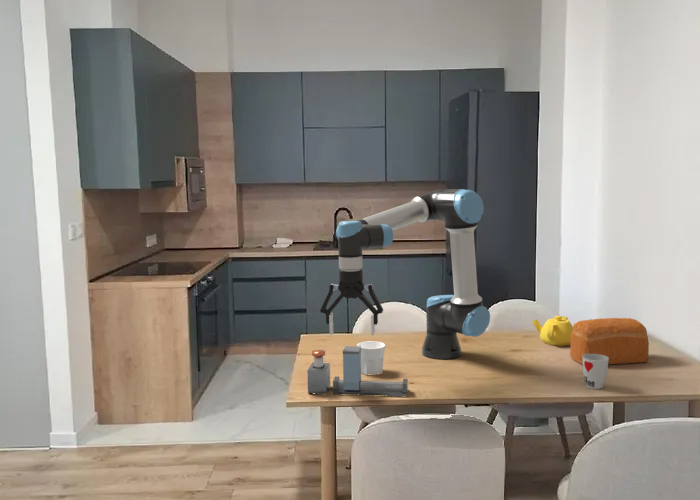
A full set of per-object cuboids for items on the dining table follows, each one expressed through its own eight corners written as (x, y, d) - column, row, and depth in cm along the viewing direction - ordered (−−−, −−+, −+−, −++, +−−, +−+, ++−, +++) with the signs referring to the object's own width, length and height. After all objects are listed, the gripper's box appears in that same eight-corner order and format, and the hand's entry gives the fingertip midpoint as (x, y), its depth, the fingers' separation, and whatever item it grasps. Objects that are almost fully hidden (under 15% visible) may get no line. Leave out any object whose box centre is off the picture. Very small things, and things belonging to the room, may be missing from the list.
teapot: (539, 333, 282) (540, 308, 281) (582, 339, 272) (583, 313, 270) (522, 343, 266) (523, 317, 265) (567, 350, 256) (568, 323, 254)
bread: (651, 363, 237) (653, 321, 236) (584, 367, 234) (586, 324, 232) (631, 353, 251) (632, 313, 249) (567, 356, 248) (568, 316, 246)
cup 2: (577, 382, 217) (578, 354, 216) (600, 381, 218) (601, 353, 217) (588, 391, 209) (589, 361, 208) (612, 390, 210) (613, 360, 209)
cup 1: (357, 367, 237) (357, 341, 236) (384, 367, 236) (384, 341, 235) (356, 376, 227) (356, 348, 226) (385, 376, 227) (385, 348, 225)
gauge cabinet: (330, 386, 217) (329, 363, 216) (326, 394, 209) (325, 370, 208) (312, 385, 217) (312, 362, 216) (307, 393, 210) (307, 370, 209)
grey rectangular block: (361, 384, 214) (361, 346, 212) (359, 390, 208) (358, 351, 206) (345, 383, 215) (345, 346, 213) (343, 390, 209) (342, 351, 207)
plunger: (326, 376, 214) (326, 349, 213) (324, 380, 210) (323, 353, 209) (313, 375, 215) (313, 349, 214) (311, 380, 211) (310, 353, 210)
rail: (407, 389, 213) (407, 377, 212) (406, 397, 206) (406, 384, 205) (335, 387, 216) (335, 375, 215) (332, 394, 209) (332, 382, 209)
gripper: (390, 267, 208) (391, 331, 211) (314, 267, 212) (316, 330, 215) (388, 271, 201) (389, 337, 204) (310, 271, 205) (312, 336, 207)
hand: (352, 334), depth 209 cm, fingers open, 13 cm apart
